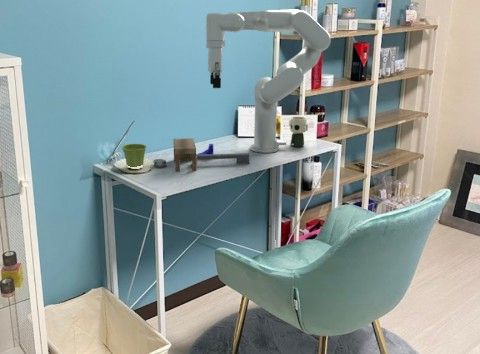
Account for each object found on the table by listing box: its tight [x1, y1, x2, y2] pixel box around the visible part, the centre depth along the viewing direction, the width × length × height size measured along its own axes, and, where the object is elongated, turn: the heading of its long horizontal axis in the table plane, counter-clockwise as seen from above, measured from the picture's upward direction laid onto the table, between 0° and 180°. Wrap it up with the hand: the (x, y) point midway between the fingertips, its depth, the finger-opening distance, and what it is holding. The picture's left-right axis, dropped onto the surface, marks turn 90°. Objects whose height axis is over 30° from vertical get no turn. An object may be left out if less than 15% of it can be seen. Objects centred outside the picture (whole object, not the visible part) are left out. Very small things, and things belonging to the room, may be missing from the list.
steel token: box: [152, 158, 167, 169], centre depth 217 cm, size 5×5×2 cm
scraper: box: [196, 152, 250, 168], centre depth 220 cm, size 22×5×4 cm, turn 99°
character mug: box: [288, 115, 309, 147], centre depth 247 cm, size 11×7×13 cm, turn 43°
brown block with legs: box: [172, 137, 197, 172], centre depth 217 cm, size 8×15×9 cm, turn 9°
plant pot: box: [121, 143, 147, 167], centre depth 213 cm, size 9×9×9 cm
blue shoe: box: [196, 143, 214, 155], centre depth 228 cm, size 12×4×6 cm, turn 97°
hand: (215, 86), depth 230 cm, fingers open, 9 cm apart
